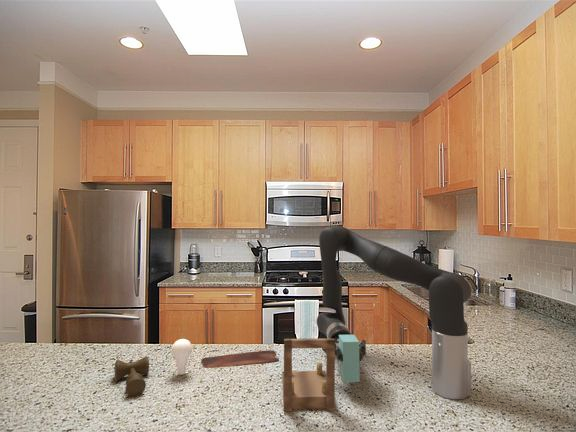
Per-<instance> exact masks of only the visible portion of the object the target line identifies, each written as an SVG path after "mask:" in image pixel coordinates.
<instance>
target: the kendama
mask: <svg viewBox="0 0 576 432" xmlns="http://www.w3.org/2000/svg"><path fill="white" fill-rule="evenodd" d="M149 372H150V359H149V357H148V356H147V355H146V356H144V357H141V359H139V360H137V361H133V360H132V359H130V360H129V362H126V361H122V360H121V359H116V360H115V362H114V380H115V382H119V381H120V380H121V379H123V378H124V377H125V376H127V378H126V380H125V393H126V395H127V396H129V397H131V398H132V397H136V396H137V397H138V396H140V395H142V394H144V391H145V390H146V387H147V385H146V381H145V379H144V376H148V374H149Z"/></svg>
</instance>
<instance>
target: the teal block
mask: <svg viewBox="0 0 576 432" xmlns="http://www.w3.org/2000/svg"><path fill="white" fill-rule="evenodd" d="M359 342H360V340H358V338H357V336H356V335H355V334H352V335H339V347H340V349H341V351H342V353H343V361H340V360H338V372H339V375H340V378H341V380H342V382H343V383H360V382H361V381H360V378H361V376H360V361H359Z"/></svg>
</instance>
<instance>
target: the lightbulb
mask: <svg viewBox="0 0 576 432" xmlns="http://www.w3.org/2000/svg"><path fill="white" fill-rule="evenodd" d="M192 346H193V345H192V343H191V341H190V340H188V339H185V338H180V339H177V340H176V341H175V342H173V344H172V347H171V353H172V356H173V358H174V359H175V363H176V367H177V368H176V369H177V375H180V376H182V375H184V374H186V372H187V366H188V360H189V358H190V355H191V353H192V351H193V347H192Z"/></svg>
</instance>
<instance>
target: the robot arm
mask: <svg viewBox="0 0 576 432" xmlns="http://www.w3.org/2000/svg"><path fill="white" fill-rule="evenodd" d="M318 242H319V243H318V244H319V252H320V259H321V262H320V263H321V270H322V305H323V307H325V308H328V309H332V310H334V311H335V312H325V311H324V312H321V313H319V314H318V316H317V317H316V326H317V329H318V331H319V332H320V333H322V334H323V335H325V336H326V337H327V338H326V339H330V338H334V339H335V358H336V359H337V361H339V360H340V361H343V353H342V351H341V349H340V347H339V335H353V334H352V332H351V331H350V330H349V328H348V327H347V326H346V320H345V316H344V311H343V306H342V305H343V304H342V296H343V295H342V294H343V285H342V279H341V277H340V274H339V271H338V268H337V256H338V255H337V254H338V252H340V251H341V252H347V253H349V254H352V255H353V256H356V257H358V258H359V259H360V260H362V261H363V263H364V264H365V265H366V266H367V267H368V268H369V269H371V270H372V271H374V272H375V273H378V274H380V275H382V276H384V277H386V278H389V279H392V280H395V281H398V282H402V283H406V284H410V285H415V286H418V287H421V288H423V289H425V290H427V291H428V312H429V314H428V315H429V320H430V322H431V389H432V391H433V392H434V394H437V395H438V396H440V397H442V398H445V399H449V400H464V399H466V398H468V397H472V362H471V361H470V360H469V359H468V358H469V357H468V356H469V354H468V353H469V350H468V347H469V346H468V344H469V343H468V340H469V339H468V338H469V337H468V336H469V335H468V332H469V331H468V329H469V328H468V323H467V322H466V320H465V311H464V310H465V309H464V308H465V307H464V306H465V305H464V304H465V303H466V302H467V301H468V300H469V299H470V297H471V296H472V288H471V285H470V283H469V282H468V280H466V279H465V278H464V276H462V275H459V274H458V273H454V272H452V271H451V272H450V271H447V270H445V269H442V268H438V267H435V266H431V265H429V264H426V263H424V262H422V261H420V260H418V259H417V258H414V257H412V256H410V255H408V254H405V253H403V252H401V251H398V250H396V249H394V248H392V247H390V246H387V245H384V244H381V243H379V242H376V241H375V240H374V241H373V240H371V239H368V238H365V237H363V236H361V235H359V234H357V233H356V232H354V231H352V230H351V229H348V228H347V227H344V226H343V225H342V226H339V225H338V226H337V225H336V226H328V227H325V228H323V229H322V230H321V231H320V234H319V239H318ZM321 350H322V351H323V352H324V353H325V354H326V348H321ZM366 354H367V340H365V339H362V340H361V341H359V362H361V361H362V360H363V359H364V356H366Z"/></svg>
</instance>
